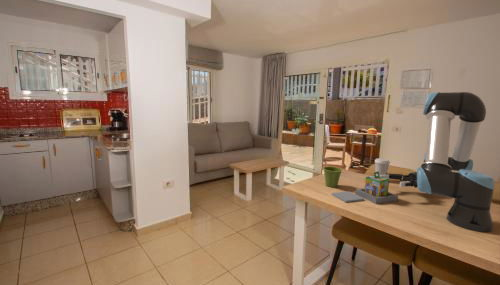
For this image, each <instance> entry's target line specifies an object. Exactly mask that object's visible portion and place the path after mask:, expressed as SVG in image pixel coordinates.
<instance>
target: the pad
mask: <svg viewBox="0 0 500 285" xmlns="http://www.w3.org/2000/svg"><path fill="white" fill-rule="evenodd" d="M331 195H332V196H333V197H335V198H336V199H339V200H340V201H342V202H343V203H354V202H360V201H361V202H363V201H365V198H363V197H361V196H358V195H356V194H355V193H354V192H351V191H338V192H332V193H331Z"/></svg>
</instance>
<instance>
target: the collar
mask: <svg viewBox="0 0 500 285" xmlns="http://www.w3.org/2000/svg"><path fill="white" fill-rule="evenodd" d="M354 192H355V193H354V194H356V195H358V196H360V197H362V198H364V200H367V201H369V202H371V203H373V204H375V205H377V204H378V205H379V204H385V203H392V202H398V199H399V195H397V194H395V193H393V192H389V191H388V196H382V197H375V196H373V195H370V194H368V193H366V192H365V187H363V188H356V189H355V191H354Z"/></svg>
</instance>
